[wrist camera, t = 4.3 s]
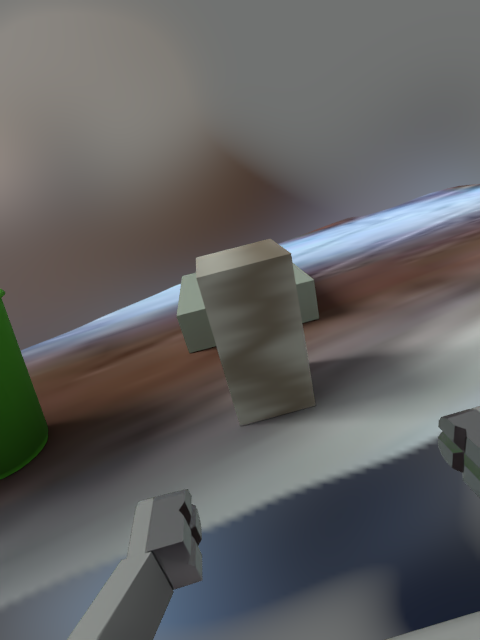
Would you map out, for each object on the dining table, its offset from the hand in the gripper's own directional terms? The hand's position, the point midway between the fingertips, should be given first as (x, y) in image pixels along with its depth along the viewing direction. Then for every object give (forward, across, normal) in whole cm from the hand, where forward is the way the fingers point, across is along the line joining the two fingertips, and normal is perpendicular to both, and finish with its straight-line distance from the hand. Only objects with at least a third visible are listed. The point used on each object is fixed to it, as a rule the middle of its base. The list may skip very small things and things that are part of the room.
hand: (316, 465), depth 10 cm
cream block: (+11, 0, -6) cm, 13 cm away
